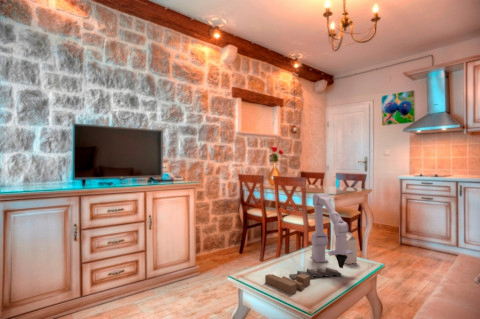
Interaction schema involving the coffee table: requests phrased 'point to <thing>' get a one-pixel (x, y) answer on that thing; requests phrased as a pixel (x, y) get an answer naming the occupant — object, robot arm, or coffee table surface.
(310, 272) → the domino
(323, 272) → the domino
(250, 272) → the coffee table surface
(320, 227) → the robot arm
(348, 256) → the milk carton
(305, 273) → the domino
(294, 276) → the domino
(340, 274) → the domino
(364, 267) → the coffee table surface
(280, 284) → the wooden block set
